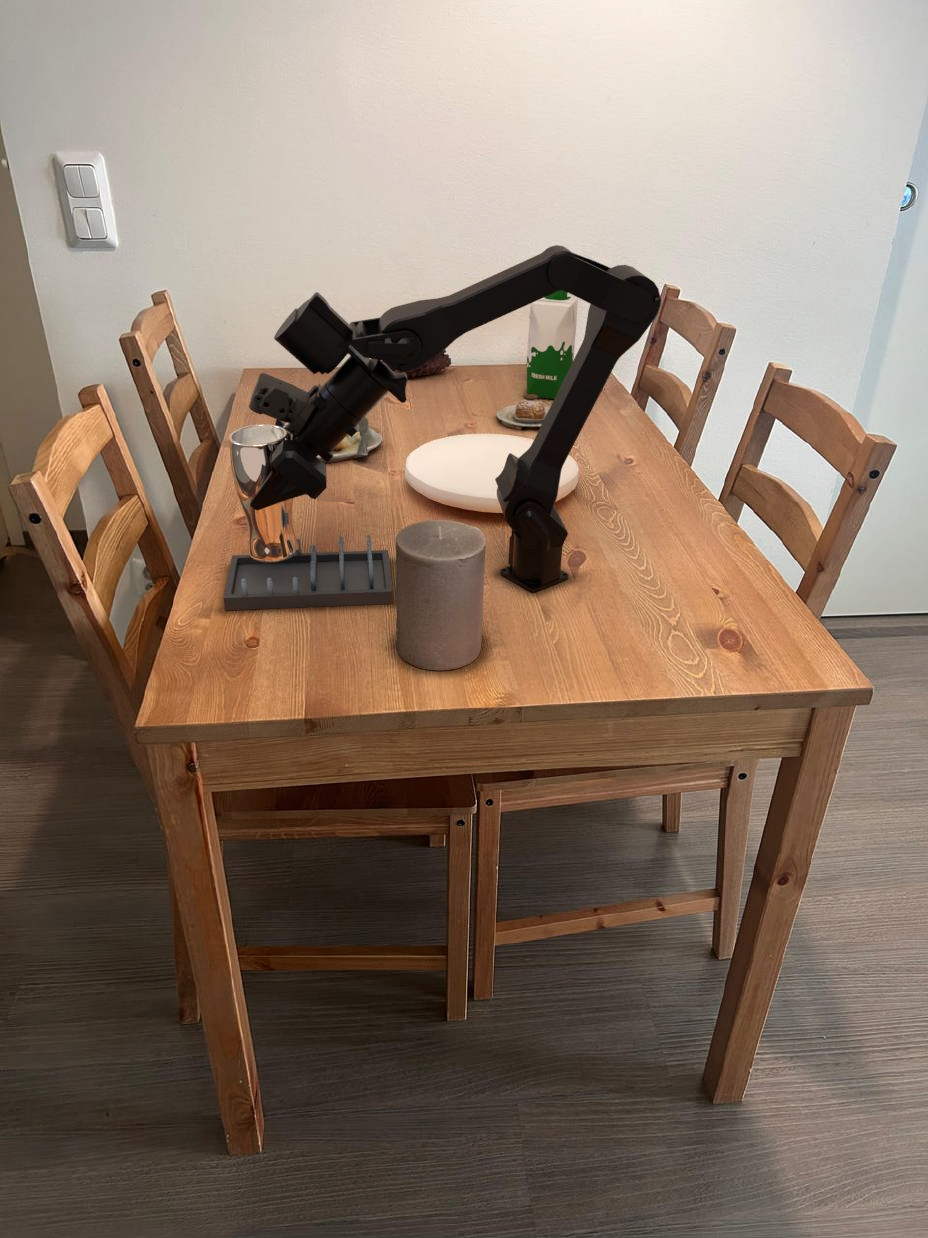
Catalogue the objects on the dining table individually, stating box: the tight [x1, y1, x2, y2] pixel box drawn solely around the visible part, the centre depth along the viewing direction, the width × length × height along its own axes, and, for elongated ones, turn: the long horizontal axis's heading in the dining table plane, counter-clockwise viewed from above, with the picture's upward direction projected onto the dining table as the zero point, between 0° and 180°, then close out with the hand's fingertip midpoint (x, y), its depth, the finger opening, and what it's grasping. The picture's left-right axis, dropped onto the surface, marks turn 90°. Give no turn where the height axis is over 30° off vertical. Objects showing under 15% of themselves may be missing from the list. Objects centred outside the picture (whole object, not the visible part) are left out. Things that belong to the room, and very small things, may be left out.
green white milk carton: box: [526, 290, 579, 400], centre depth 180 cm, size 9×9×20 cm
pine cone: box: [381, 349, 452, 379], centre depth 192 cm, size 18×10×10 cm
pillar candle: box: [395, 519, 487, 671], centre depth 101 cm, size 10×10×15 cm
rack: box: [223, 534, 394, 612], centre depth 115 cm, size 20×11×5 cm, turn 97°
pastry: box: [496, 394, 550, 431], centre depth 170 cm, size 12×12×5 cm
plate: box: [404, 433, 580, 514], centre depth 142 cm, size 28×6×27 cm
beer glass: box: [228, 423, 299, 562], centre depth 110 cm, size 7×7×15 cm
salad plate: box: [317, 416, 383, 464], centre depth 156 cm, size 19×18×5 cm
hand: (255, 495), depth 109 cm, fingers closed on beer glass, 7 cm apart
